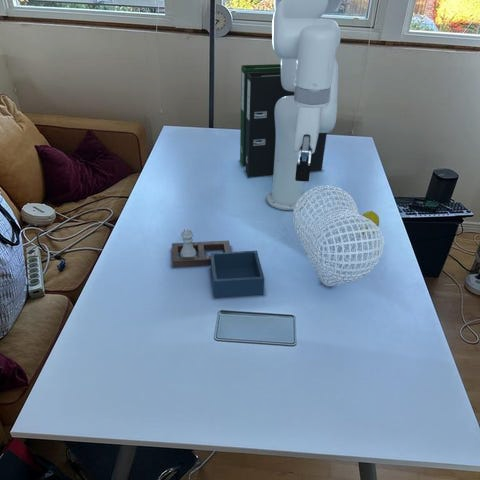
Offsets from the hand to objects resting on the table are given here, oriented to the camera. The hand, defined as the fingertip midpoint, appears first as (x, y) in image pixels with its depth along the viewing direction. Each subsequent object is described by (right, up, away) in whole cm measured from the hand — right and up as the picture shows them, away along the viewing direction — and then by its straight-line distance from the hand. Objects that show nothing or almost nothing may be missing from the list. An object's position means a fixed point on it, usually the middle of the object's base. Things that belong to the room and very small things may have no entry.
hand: (303, 171), depth 110 cm
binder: (0, +21, +60) cm, 63 cm away
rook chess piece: (-29, -18, +15) cm, 38 cm away
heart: (+7, -26, +8) cm, 28 cm away
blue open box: (-16, -25, +8) cm, 31 cm away
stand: (-25, -18, +16) cm, 35 cm away
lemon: (+22, -11, +25) cm, 35 cm away
